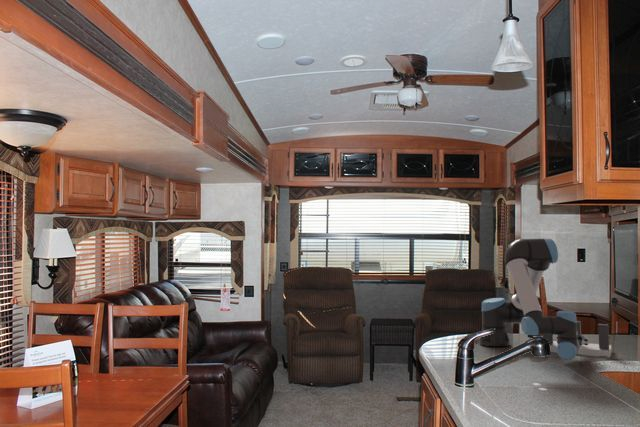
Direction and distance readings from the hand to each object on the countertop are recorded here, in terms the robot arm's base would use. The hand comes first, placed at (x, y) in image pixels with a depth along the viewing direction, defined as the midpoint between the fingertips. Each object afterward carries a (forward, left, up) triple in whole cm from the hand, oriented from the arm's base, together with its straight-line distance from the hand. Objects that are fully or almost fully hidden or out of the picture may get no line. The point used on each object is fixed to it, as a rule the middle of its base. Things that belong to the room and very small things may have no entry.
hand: (575, 334), depth 255 cm
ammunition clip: (-4, +38, -9) cm, 40 cm away
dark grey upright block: (+2, +4, -6) cm, 7 cm away
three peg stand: (+2, +4, -9) cm, 10 cm away
